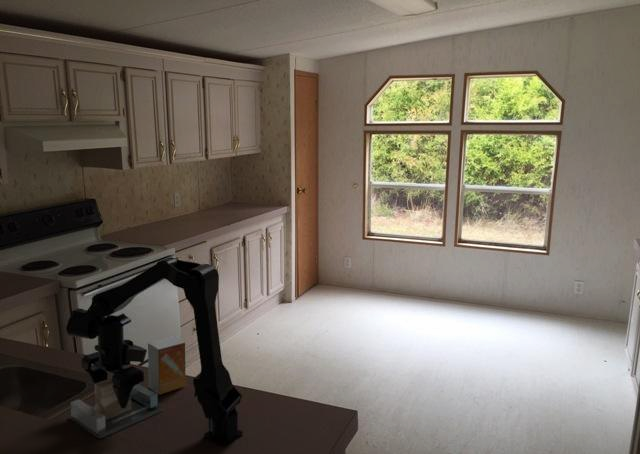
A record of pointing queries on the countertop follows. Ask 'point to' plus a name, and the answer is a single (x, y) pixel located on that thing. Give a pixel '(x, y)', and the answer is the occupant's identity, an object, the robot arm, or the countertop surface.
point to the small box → (166, 365)
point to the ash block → (108, 400)
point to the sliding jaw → (144, 396)
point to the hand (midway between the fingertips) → (113, 401)
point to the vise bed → (102, 427)
